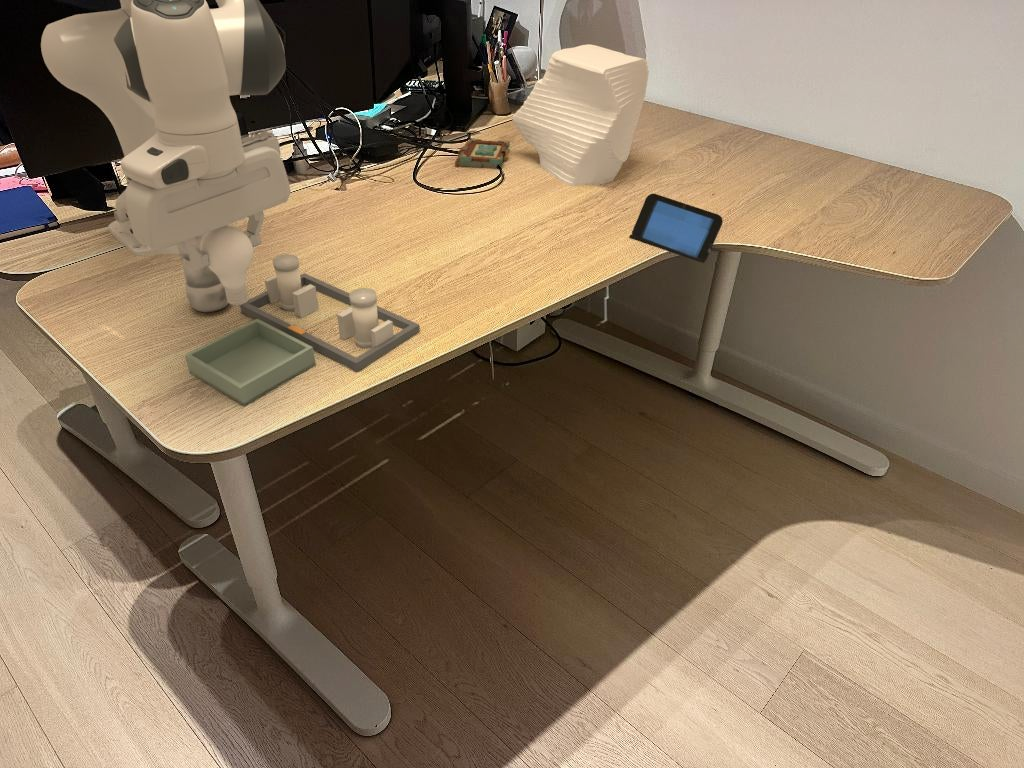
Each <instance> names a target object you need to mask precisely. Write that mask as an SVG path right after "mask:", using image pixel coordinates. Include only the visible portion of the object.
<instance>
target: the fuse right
mask: <svg viewBox="0 0 1024 768" xmlns="http://www.w3.org/2000/svg"><path fill="white" fill-rule="evenodd" d="M349 297H350V303H351V306H350V307H351V308H352V316H353V324H354V332H355V335H353V336H354V343H355V345H356V346H357V348H360V349H371V348H373V347H372V338H371V330H372V329H374V328H375V327H377V326H379V325H380V324H379V318H378V314H377V306H378V304H377V300H378V299H377V298H378V297H377V292H376V291H375V290H374V289H372V288H368V287H362V288H361V287H360V288H356V289H354V290H352V291H351V292H350V294H349Z"/></svg>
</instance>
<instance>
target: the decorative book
mask: <svg viewBox="0 0 1024 768" xmlns="http://www.w3.org/2000/svg"><path fill="white" fill-rule="evenodd" d="M509 148H510V141H509V140H497V141H494V140H482V139H478V138H475V137H473V138H470V139H469V140H467V141H466V143H465V144H464V145H463V146H461V147H460V148H459V150H458V152H457V158H456V159H455V161H454V167H455V168H459V167H472V168H473V167H474V168H475V167H476V168H481V169H483V168H489V169H490V168H491V169H492V168H494V169H497V167H498V166H499V165H502V163H503V162H505V163H506V162H507V161H508V156H509V150H508V149H509Z"/></svg>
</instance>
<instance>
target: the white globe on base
mask: <svg viewBox="0 0 1024 768" xmlns="http://www.w3.org/2000/svg"><path fill="white" fill-rule="evenodd" d="M272 264H273V269H274V274H275V275H276V279H277V284H278V290H279V296H280V300H279V305H280V309H282V310H284V311H287V312H294V311H295V307H294V301H293V295H292V293H293V292H295V291H297V290H299V289H301V288H303V286H302V284H301V278H300V275H301V272H300V262H299V257H298V256H297V255H295V254H288V253H287V254H280V255H277V256H275V257H274V258H273V259H272Z"/></svg>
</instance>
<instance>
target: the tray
mask: <svg viewBox="0 0 1024 768" xmlns="http://www.w3.org/2000/svg"><path fill="white" fill-rule="evenodd" d="M314 351H315V350H314V349H313V347H312V346H310V345H308V344H306V343H304V342H302V341H300V340H298V339H296V338H294V337H292V336H290V335H288V334H286V333H284V332H282V331H280V330H278V329H277V328H275V327H273V326H271V325H269V324H267V323H265V322H263V321H261V320H259V319H253V320H251V321H250V322H248V323H246V324H244V325H241V326H239V327H238V328H236V329H234V330H232V331H229V332H228V333H226V334H223V335H222V336H220V337H218V338H216V339H214V340H211V341H210V342H208V343H205V344H204V345H201V346H199V347H198V348H196V349H194V350H192V351H190V352H187V353H186V354H184V358H185V361H186V366H187V370H188V371H189V374H191V375H192V376H194V377H196V378H198V379H199V380H201V381H202V382H204V383H205V384H207V385H208V386H210V387H212V388H213V389H215V390H217V391H219V392H220V393H221V394H224V395H225V396H227V397H229V398H230V399H232V400H233V401H235V402H237V403H238V404H240V405H242V406H243V407H246V406H248V405H250V404H251V403H253V402H255V401H257V400H258V399H259V398H262V397H263V396H265V395H266V394H268V393H270V392H272V391H274V390H276V389H277V388H279V387H280V386H282V385H284V384H285V383H287V382H289V381H291V380H292V379H294V378H296V377H297V376H300V375H301V374H302V373H304V372H307V371H308V370H309V369H311V368H313V367H315V366H316V365H317V364H316V357H315V353H314Z"/></svg>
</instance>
